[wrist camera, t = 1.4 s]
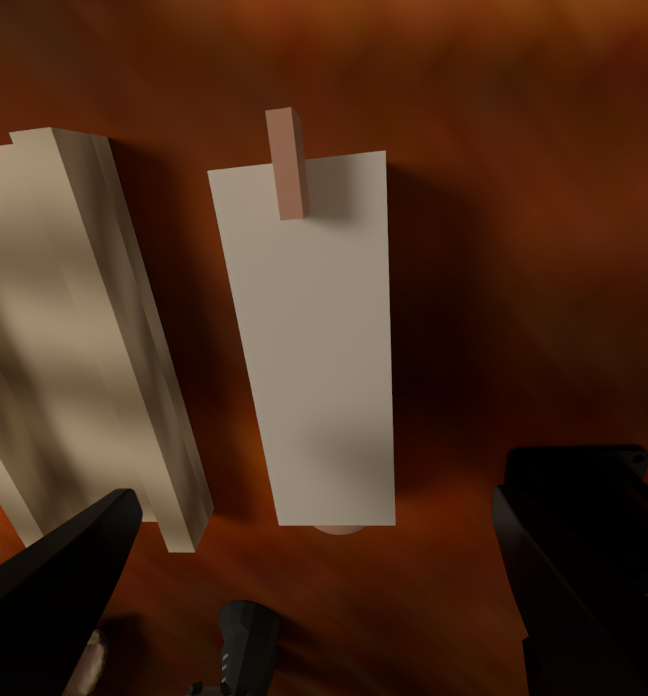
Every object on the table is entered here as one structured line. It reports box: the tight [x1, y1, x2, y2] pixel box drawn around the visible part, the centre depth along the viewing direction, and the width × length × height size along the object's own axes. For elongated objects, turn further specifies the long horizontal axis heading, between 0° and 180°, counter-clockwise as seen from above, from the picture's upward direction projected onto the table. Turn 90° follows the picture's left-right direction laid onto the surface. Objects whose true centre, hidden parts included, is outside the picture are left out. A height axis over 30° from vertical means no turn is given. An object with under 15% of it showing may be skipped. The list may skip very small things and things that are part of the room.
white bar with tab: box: [207, 108, 395, 535], centre depth 15 cm, size 17×5×6 cm, turn 6°
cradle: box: [0, 127, 214, 552], centre depth 18 cm, size 20×10×3 cm, turn 5°
